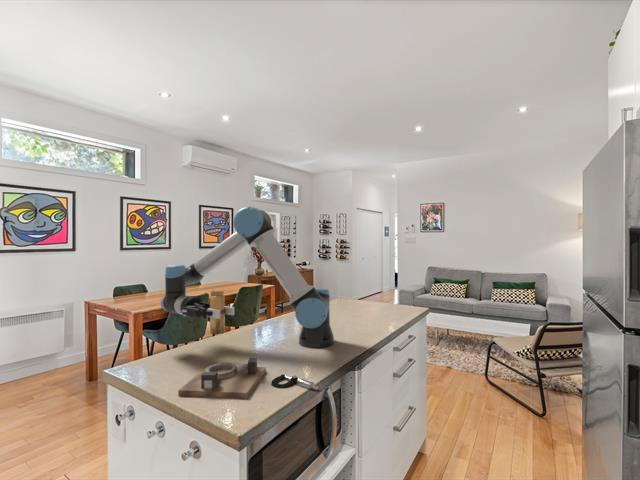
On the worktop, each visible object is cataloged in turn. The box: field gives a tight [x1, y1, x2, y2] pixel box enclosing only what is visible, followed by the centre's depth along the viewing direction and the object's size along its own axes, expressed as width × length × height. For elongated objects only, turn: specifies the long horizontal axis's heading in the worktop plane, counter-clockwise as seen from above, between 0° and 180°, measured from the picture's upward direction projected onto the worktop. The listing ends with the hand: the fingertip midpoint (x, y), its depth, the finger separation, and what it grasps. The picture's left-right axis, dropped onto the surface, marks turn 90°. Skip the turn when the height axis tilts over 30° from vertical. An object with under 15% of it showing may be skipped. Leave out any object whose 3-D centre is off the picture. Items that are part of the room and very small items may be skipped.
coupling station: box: [177, 357, 267, 399], centre depth 101 cm, size 20×19×5 cm
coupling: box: [209, 290, 226, 335], centre depth 116 cm, size 5×5×15 cm
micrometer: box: [270, 373, 319, 391], centre depth 98 cm, size 15×7×2 cm, turn 51°
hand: (226, 312), depth 113 cm, fingers closed on coupling, 5 cm apart
